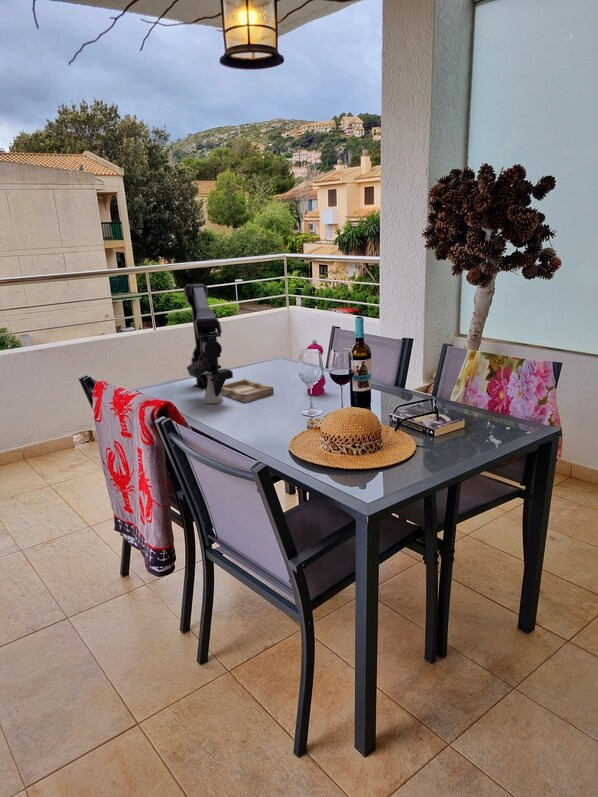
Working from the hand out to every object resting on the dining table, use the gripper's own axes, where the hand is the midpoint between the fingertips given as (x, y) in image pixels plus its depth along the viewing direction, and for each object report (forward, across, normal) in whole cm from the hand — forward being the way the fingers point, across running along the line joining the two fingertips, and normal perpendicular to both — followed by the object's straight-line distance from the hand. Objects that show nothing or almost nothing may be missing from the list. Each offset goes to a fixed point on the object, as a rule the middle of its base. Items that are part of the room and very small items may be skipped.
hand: (212, 394), depth 199 cm
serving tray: (+2, +2, +13) cm, 13 cm away
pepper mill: (+3, +21, +31) cm, 38 cm away
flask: (+3, 0, 0) cm, 3 cm away
